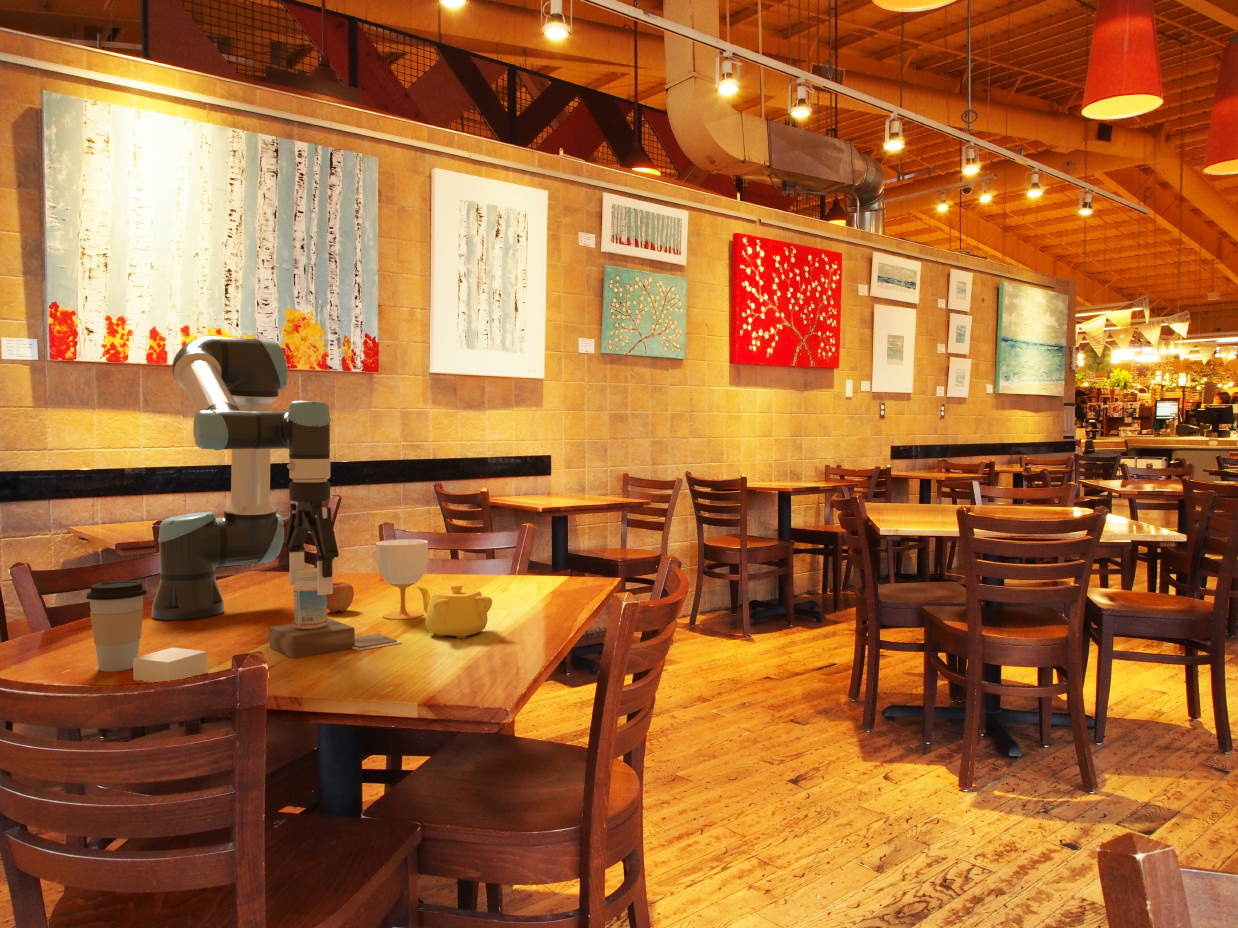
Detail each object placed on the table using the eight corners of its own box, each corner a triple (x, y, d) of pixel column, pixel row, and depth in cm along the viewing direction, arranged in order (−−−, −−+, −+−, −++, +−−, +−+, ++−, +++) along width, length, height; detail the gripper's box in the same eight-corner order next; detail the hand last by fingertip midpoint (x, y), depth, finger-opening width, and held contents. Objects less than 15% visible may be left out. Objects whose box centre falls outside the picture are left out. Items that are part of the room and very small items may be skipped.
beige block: (133, 681, 148) (133, 657, 148) (173, 669, 156) (172, 647, 156) (168, 686, 145) (167, 662, 145) (207, 673, 153) (206, 651, 153)
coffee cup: (104, 661, 160) (102, 580, 160) (157, 660, 161) (156, 579, 161) (76, 675, 151) (74, 588, 151) (133, 673, 152) (132, 588, 151)
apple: (358, 612, 205) (357, 578, 205) (326, 616, 201) (326, 581, 201) (348, 607, 212) (348, 574, 211) (317, 610, 207) (317, 577, 207)
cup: (365, 618, 198) (365, 543, 198) (397, 609, 209) (396, 538, 208) (409, 622, 194) (408, 546, 193) (439, 612, 204) (438, 540, 204)
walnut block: (269, 647, 171) (269, 626, 171) (328, 637, 179) (328, 618, 179) (293, 658, 162) (293, 636, 162) (354, 647, 170) (354, 627, 170)
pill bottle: (333, 624, 172) (332, 568, 172) (313, 631, 167) (311, 572, 166) (308, 622, 175) (307, 566, 174) (287, 629, 169) (286, 571, 169)
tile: (337, 642, 175) (337, 639, 175) (380, 635, 181) (379, 632, 181) (357, 650, 168) (357, 647, 168) (401, 643, 174) (401, 640, 174)
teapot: (426, 643, 174) (425, 592, 174) (416, 630, 186) (415, 582, 185) (493, 637, 179) (493, 587, 179) (479, 625, 191) (479, 578, 191)
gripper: (266, 478, 177) (267, 582, 177) (317, 484, 158) (318, 601, 159) (303, 476, 182) (304, 578, 182) (356, 483, 163) (357, 596, 164)
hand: (310, 589), depth 171 cm, fingers open, 13 cm apart
